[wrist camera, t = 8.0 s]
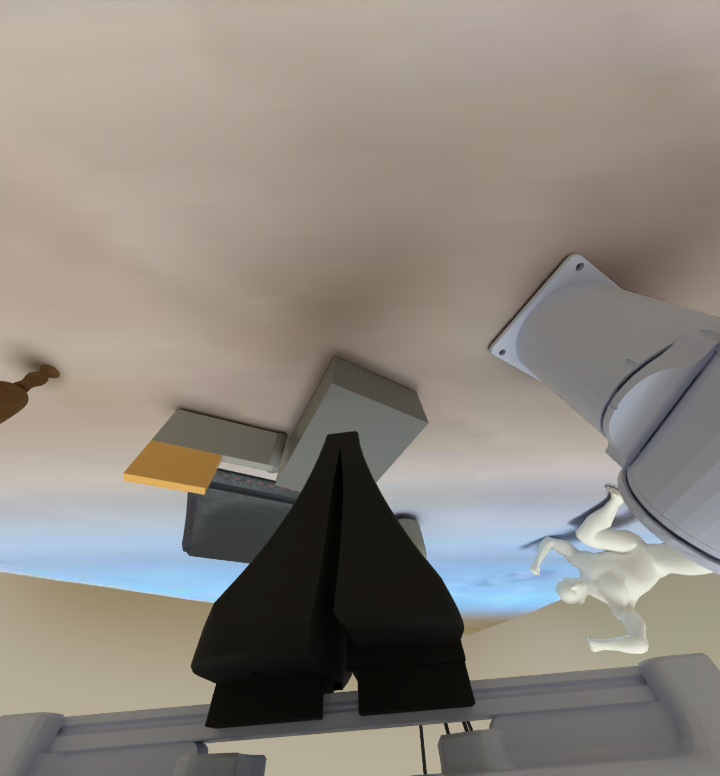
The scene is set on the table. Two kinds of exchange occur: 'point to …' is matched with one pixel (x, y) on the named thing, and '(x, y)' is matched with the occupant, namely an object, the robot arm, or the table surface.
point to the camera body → (353, 421)
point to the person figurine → (615, 572)
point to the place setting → (22, 391)
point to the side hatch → (202, 452)
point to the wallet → (234, 516)
